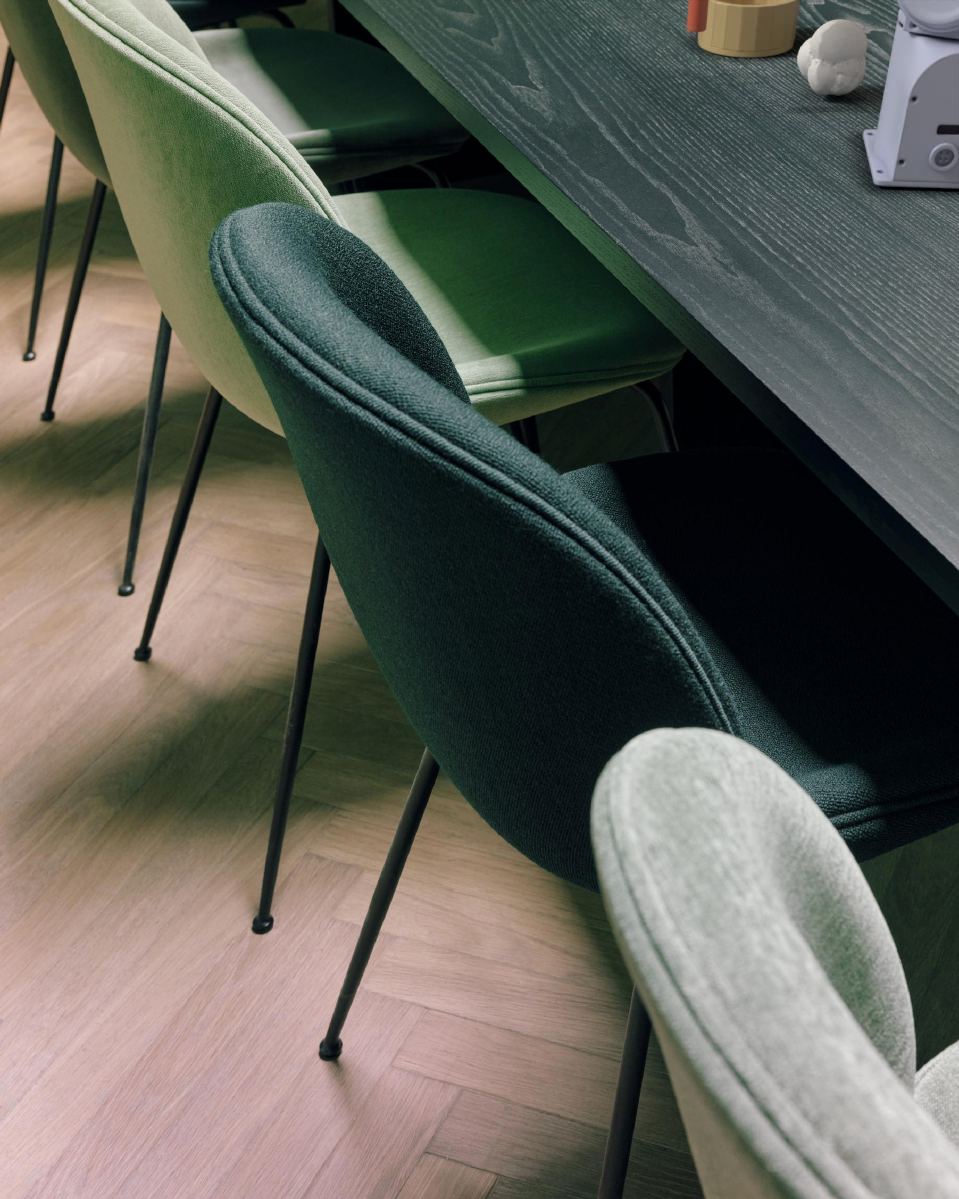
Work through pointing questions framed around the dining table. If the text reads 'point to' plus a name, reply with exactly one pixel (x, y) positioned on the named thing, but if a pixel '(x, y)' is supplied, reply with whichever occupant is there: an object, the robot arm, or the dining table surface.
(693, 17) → the straw
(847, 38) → the microfossil shell
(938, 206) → the dining table surface
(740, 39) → the tumbler
